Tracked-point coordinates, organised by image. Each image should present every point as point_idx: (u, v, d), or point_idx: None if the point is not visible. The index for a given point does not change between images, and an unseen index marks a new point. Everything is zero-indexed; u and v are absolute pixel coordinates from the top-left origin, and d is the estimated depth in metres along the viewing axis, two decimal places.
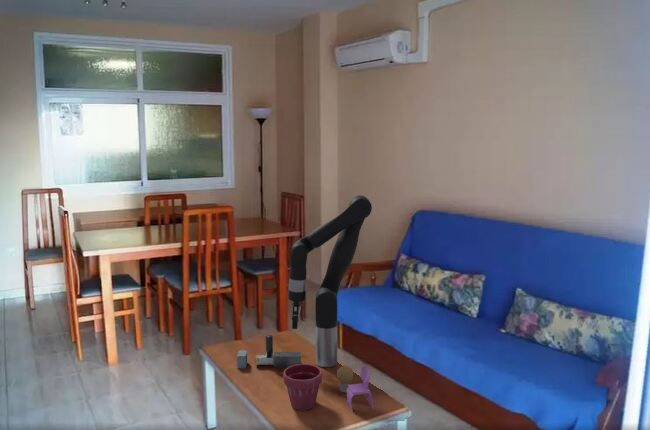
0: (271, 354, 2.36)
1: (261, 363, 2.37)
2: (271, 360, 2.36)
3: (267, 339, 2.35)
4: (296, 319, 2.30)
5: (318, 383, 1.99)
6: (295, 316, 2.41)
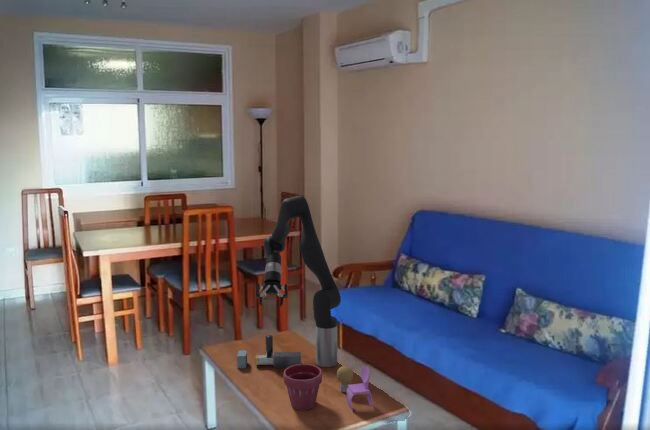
0: (271, 354, 2.36)
1: (261, 363, 2.37)
2: (271, 360, 2.36)
3: (267, 339, 2.35)
4: None
5: (318, 383, 1.99)
6: (280, 301, 2.48)
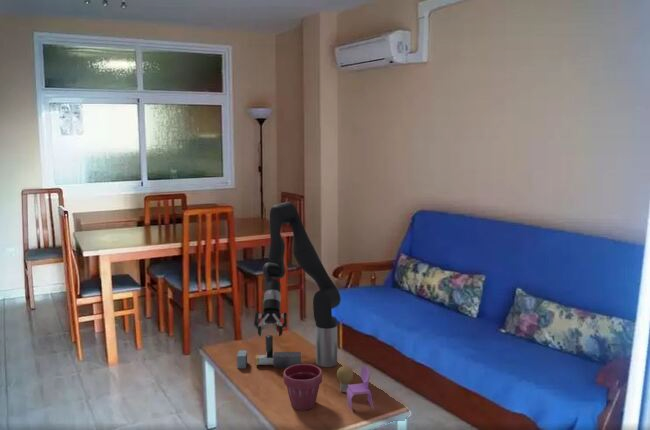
0: (271, 354, 2.36)
1: (261, 363, 2.37)
2: (271, 360, 2.36)
3: (267, 339, 2.35)
4: (254, 324, 2.43)
5: (318, 383, 1.99)
6: (279, 330, 2.42)
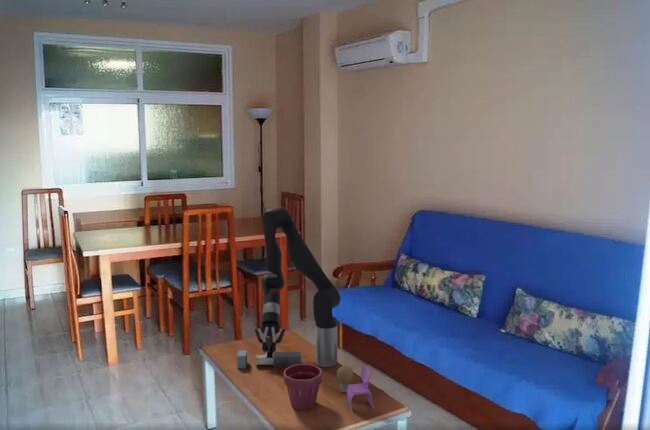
0: (271, 354, 2.36)
1: (261, 363, 2.37)
2: (271, 360, 2.36)
3: (267, 339, 2.35)
4: (258, 340, 2.38)
5: (318, 383, 1.99)
6: None
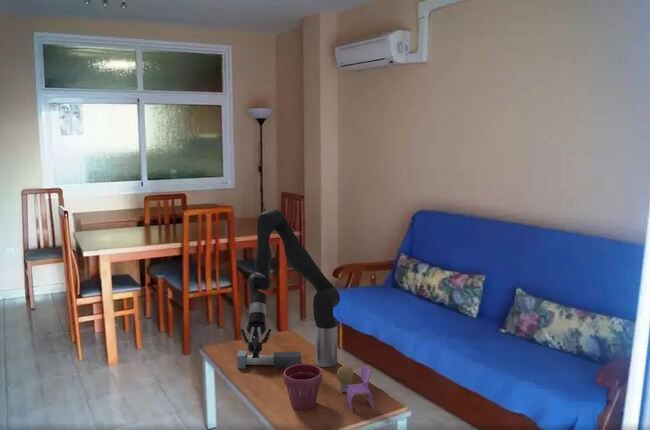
0: (257, 354, 2.36)
1: (247, 363, 2.37)
2: (257, 360, 2.36)
3: (253, 339, 2.35)
4: (244, 340, 2.38)
5: (318, 383, 1.99)
6: None
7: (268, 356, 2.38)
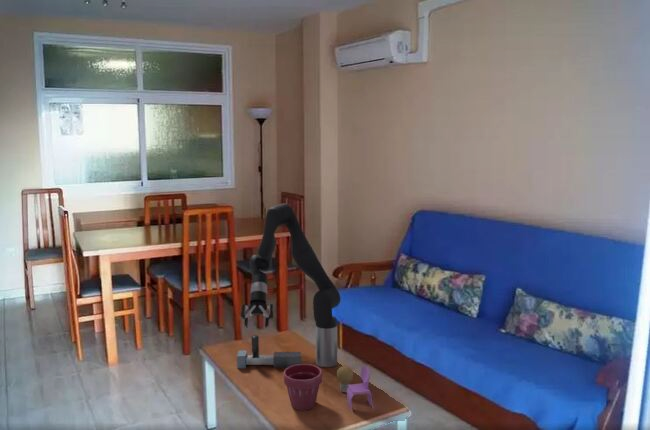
0: (257, 354, 2.36)
1: (247, 363, 2.37)
2: (257, 360, 2.36)
3: (253, 339, 2.35)
4: (241, 315, 2.46)
5: (318, 383, 1.99)
6: None
7: (268, 356, 2.38)
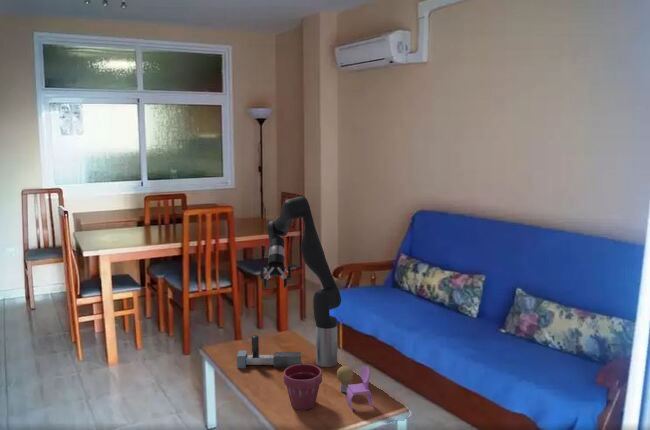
0: (257, 354, 2.36)
1: (247, 363, 2.37)
2: (257, 360, 2.36)
3: (253, 339, 2.35)
4: (260, 276, 2.55)
5: (318, 383, 1.99)
6: None
7: (268, 356, 2.38)
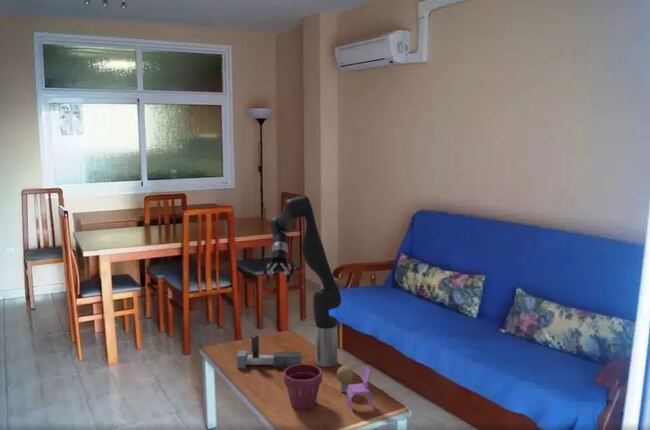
0: (257, 354, 2.36)
1: (247, 363, 2.37)
2: (257, 360, 2.36)
3: (253, 339, 2.35)
4: (263, 272, 2.56)
5: (318, 383, 1.99)
6: None
7: (268, 356, 2.38)
